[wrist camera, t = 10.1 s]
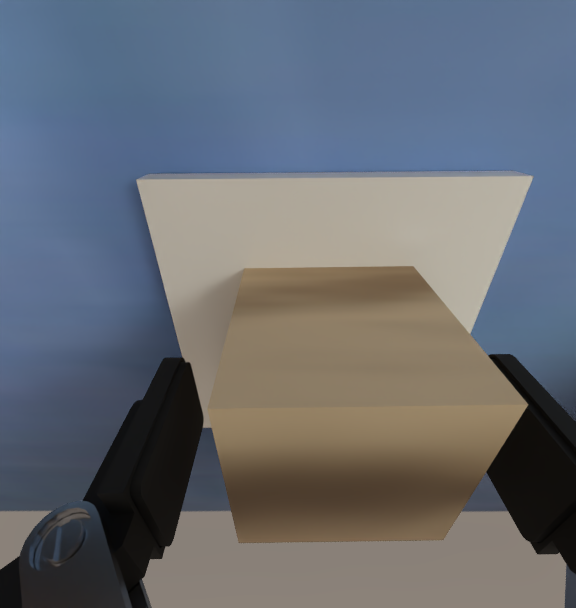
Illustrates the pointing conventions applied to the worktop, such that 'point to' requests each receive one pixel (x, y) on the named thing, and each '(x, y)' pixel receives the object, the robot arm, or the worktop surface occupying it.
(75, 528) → the robot arm
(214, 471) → the worktop surface
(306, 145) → the worktop surface
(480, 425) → the block
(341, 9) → the worktop surface
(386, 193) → the panel
